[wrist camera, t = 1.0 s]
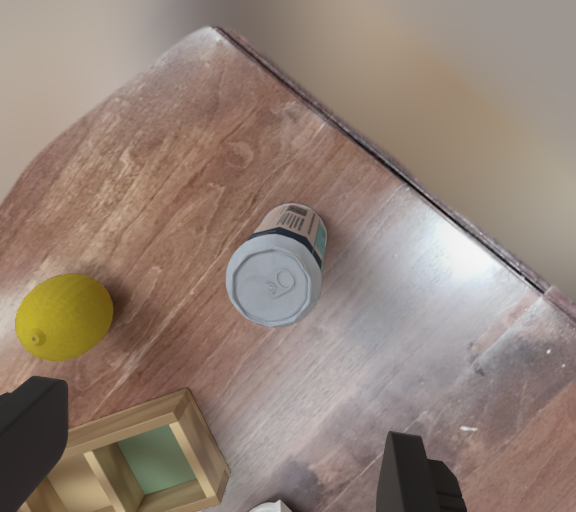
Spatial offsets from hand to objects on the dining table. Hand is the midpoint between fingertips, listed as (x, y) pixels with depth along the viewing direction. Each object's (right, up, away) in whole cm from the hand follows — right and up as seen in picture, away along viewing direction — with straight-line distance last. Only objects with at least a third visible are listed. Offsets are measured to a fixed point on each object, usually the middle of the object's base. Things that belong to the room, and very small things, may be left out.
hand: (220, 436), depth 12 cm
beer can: (+2, +6, +23) cm, 24 cm away
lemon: (-13, +1, +26) cm, 29 cm away
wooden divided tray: (-12, -12, +29) cm, 34 cm away
